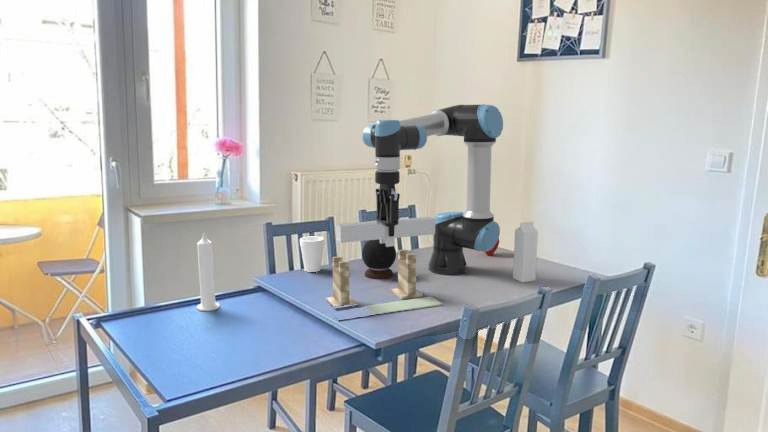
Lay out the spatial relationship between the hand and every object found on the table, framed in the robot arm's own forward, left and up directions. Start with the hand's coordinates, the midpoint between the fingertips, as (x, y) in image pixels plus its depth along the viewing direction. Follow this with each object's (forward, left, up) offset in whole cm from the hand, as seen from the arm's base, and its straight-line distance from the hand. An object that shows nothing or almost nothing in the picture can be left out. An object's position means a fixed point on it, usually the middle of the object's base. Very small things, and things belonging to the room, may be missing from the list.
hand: (387, 244), depth 180 cm
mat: (0, 0, -21) cm, 21 cm away
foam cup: (+10, -52, -22) cm, 57 cm away
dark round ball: (-12, -36, -22) cm, 44 cm away
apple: (-68, -45, -22) cm, 85 cm away
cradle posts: (0, -11, -21) cm, 24 cm away
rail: (0, 0, +2) cm, 2 cm away
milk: (-60, -9, -22) cm, 65 cm away
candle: (+53, -24, -22) cm, 62 cm away
